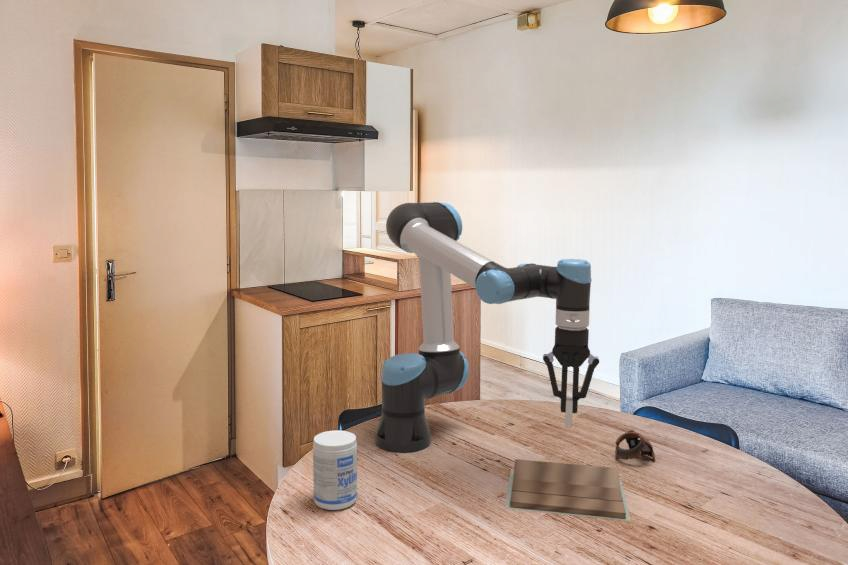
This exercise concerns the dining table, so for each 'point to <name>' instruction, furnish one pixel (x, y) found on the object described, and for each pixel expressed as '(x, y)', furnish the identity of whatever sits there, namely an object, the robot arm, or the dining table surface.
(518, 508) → the underlay mat
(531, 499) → the laid strip
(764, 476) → the dining table surface
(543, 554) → the dining table surface
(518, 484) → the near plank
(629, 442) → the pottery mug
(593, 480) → the far plank
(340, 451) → the supplement tub
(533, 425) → the dining table surface
